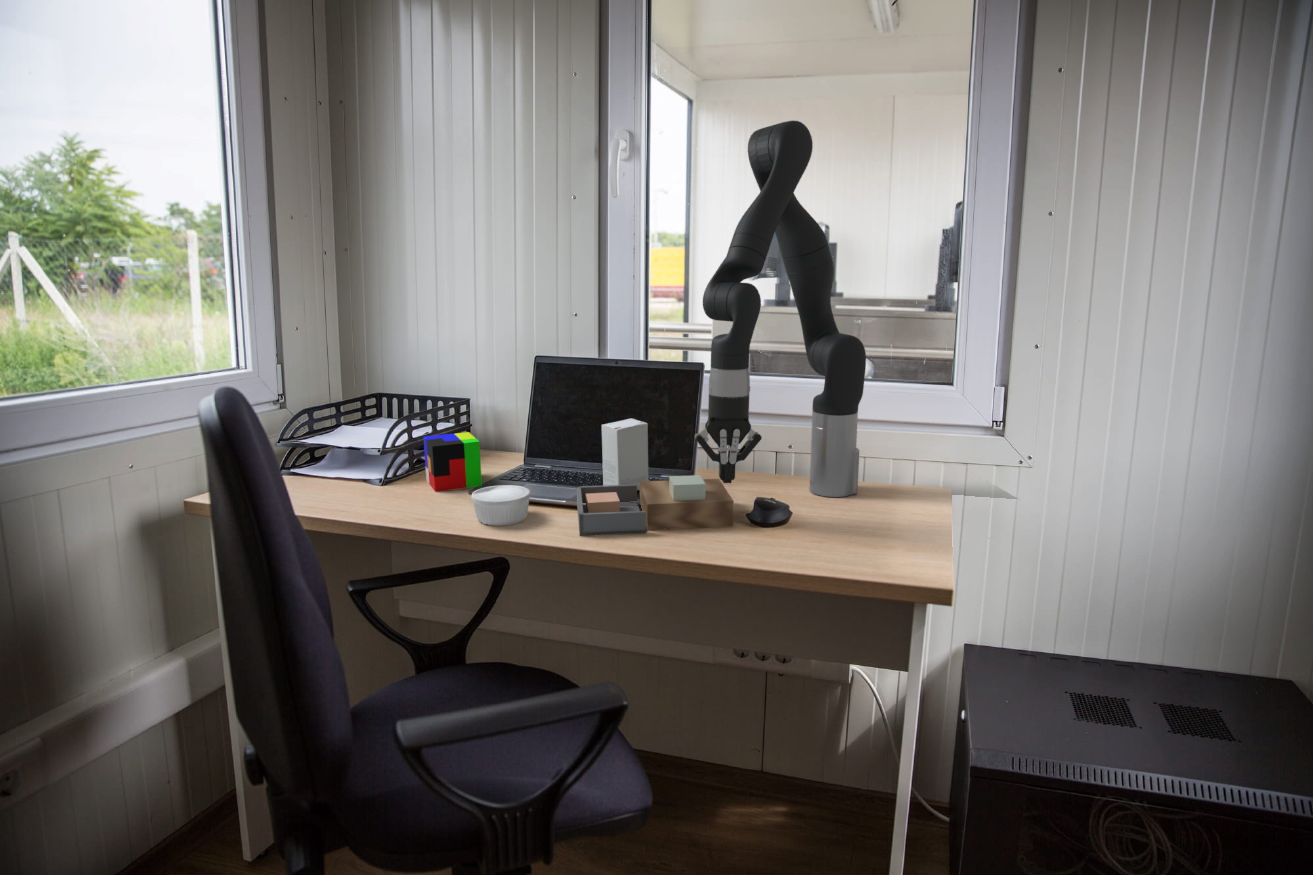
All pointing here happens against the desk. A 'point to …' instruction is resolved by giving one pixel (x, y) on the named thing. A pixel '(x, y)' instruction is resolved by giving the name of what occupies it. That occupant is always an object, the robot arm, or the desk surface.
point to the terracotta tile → (602, 502)
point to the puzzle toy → (452, 461)
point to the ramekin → (501, 504)
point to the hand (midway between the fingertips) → (726, 481)
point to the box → (611, 522)
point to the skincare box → (625, 452)
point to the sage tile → (687, 487)
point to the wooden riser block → (685, 507)
